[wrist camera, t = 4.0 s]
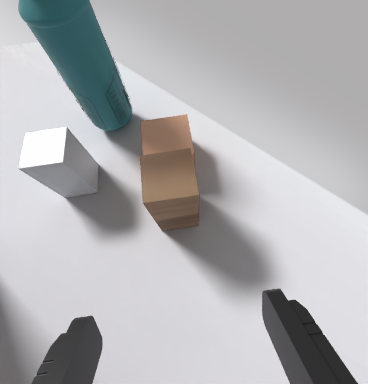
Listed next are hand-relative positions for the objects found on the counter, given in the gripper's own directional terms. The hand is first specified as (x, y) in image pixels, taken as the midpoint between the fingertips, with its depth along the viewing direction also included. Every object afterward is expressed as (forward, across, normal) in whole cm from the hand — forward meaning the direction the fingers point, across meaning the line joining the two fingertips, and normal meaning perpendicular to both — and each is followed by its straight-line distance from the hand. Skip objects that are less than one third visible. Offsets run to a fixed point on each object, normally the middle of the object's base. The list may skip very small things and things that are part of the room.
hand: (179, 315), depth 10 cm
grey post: (+21, +13, -2) cm, 25 cm away
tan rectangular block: (+17, 0, +3) cm, 17 cm away
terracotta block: (+22, 0, -3) cm, 23 cm away
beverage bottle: (+28, +8, -8) cm, 31 cm away
